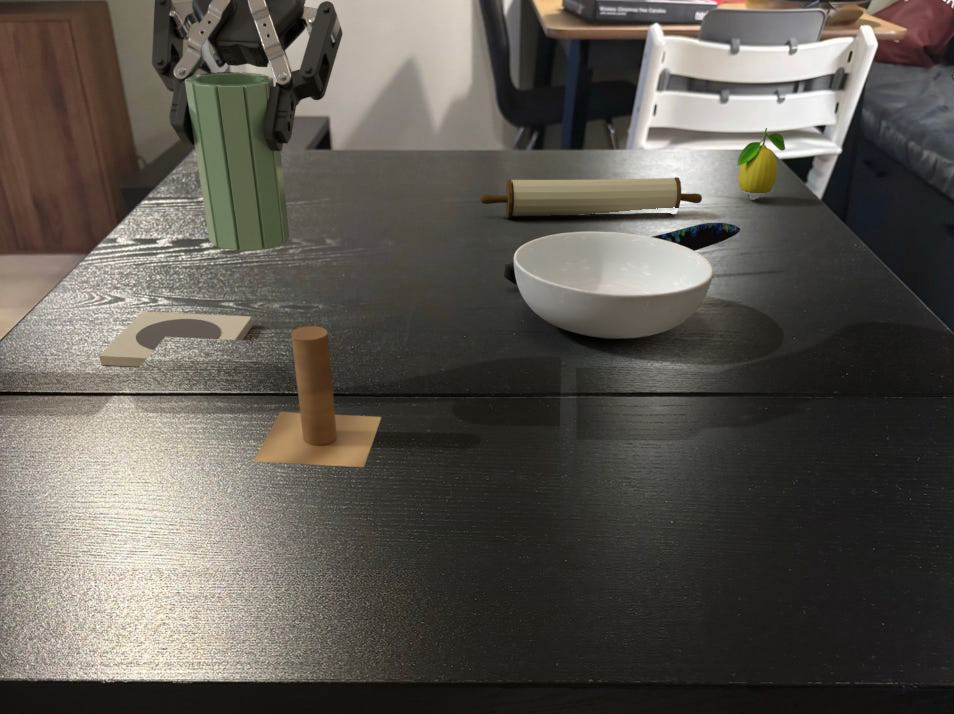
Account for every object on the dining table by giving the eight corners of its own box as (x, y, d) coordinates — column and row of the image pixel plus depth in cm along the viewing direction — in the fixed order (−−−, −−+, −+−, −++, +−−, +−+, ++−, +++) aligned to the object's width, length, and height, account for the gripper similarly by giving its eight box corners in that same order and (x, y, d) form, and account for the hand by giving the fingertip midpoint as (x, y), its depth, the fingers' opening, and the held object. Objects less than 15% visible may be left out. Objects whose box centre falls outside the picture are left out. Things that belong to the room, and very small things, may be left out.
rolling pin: (482, 223, 131) (483, 184, 128) (478, 212, 136) (478, 174, 132) (704, 220, 135) (710, 182, 131) (693, 209, 139) (699, 172, 136)
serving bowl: (662, 378, 92) (673, 308, 87) (476, 335, 99) (478, 269, 95) (728, 313, 106) (740, 249, 101) (561, 279, 114) (565, 219, 109)
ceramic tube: (200, 249, 72) (173, 84, 65) (224, 225, 77) (201, 70, 70) (277, 253, 72) (258, 87, 65) (296, 229, 76) (281, 73, 69)
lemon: (775, 197, 145) (790, 125, 139) (775, 207, 140) (791, 133, 134) (731, 194, 146) (744, 121, 140) (730, 203, 142) (743, 129, 135)
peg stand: (255, 474, 76) (236, 352, 69) (281, 424, 83) (266, 309, 76) (365, 480, 75) (356, 358, 69) (382, 429, 82) (376, 314, 76)
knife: (508, 304, 111) (505, 266, 108) (501, 294, 113) (499, 257, 110) (747, 259, 115) (752, 221, 112) (736, 250, 117) (740, 213, 114)
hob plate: (100, 365, 92) (98, 354, 91) (143, 320, 101) (141, 310, 100) (221, 371, 91) (219, 360, 91) (253, 325, 101) (252, 315, 100)
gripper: (149, -118, 67) (109, 101, 65) (344, -112, 65) (308, 113, 64) (192, -32, 74) (157, 166, 73) (368, -25, 73) (336, 178, 71)
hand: (228, 140), depth 68 cm, fingers closed on ceramic tube, 6 cm apart
